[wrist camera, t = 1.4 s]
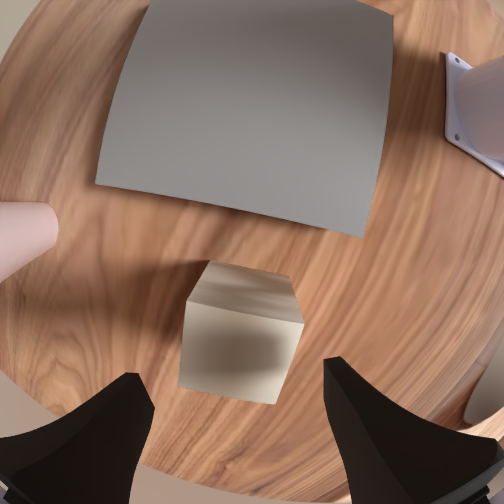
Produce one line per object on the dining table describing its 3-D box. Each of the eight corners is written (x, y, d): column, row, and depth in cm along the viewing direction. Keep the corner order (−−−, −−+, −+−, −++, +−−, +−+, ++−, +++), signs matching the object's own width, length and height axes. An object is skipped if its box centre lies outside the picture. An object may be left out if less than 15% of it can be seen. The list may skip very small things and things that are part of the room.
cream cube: (288, 275, 16) (304, 324, 11) (270, 341, 18) (274, 404, 12) (210, 259, 16) (186, 300, 10) (199, 327, 17) (177, 386, 12)
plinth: (376, 35, 12) (393, 15, 9) (344, 228, 16) (362, 238, 13) (176, -1, 12) (165, -23, 9) (120, 182, 15) (94, 184, 12)
